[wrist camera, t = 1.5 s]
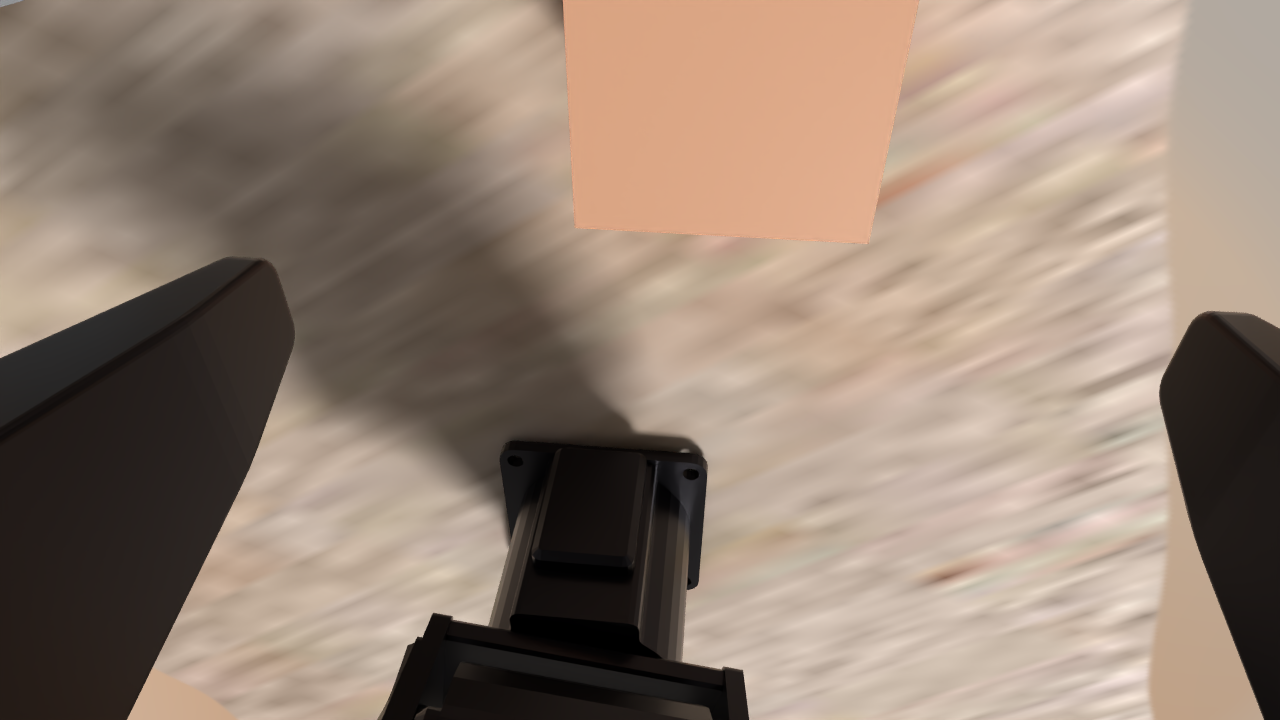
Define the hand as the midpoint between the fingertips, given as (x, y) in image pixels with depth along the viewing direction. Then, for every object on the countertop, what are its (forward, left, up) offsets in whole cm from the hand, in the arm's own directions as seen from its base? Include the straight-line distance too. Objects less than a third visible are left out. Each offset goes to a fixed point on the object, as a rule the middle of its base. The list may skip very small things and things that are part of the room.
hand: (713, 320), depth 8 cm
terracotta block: (0, 0, -12) cm, 12 cm away
